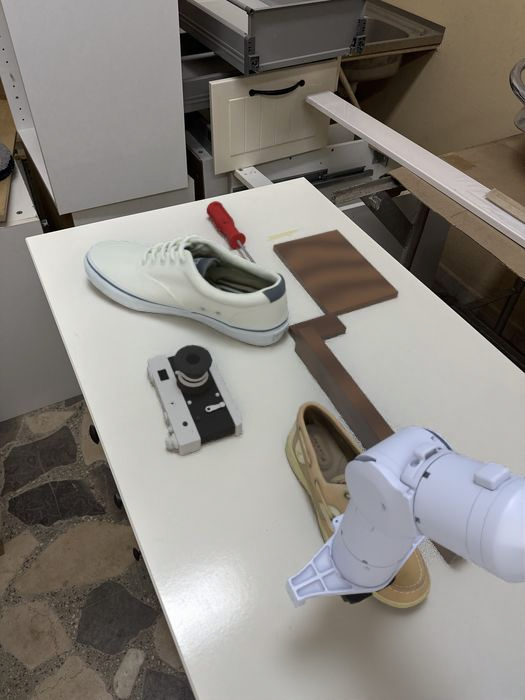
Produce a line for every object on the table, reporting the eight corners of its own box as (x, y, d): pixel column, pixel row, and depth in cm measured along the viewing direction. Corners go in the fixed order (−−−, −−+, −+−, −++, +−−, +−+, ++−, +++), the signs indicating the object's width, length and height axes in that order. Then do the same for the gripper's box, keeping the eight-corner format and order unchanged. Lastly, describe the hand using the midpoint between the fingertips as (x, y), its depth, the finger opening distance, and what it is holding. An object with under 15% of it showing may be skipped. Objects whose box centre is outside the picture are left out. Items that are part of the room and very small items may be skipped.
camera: (246, 403, 64) (166, 427, 61) (243, 435, 69) (170, 459, 66) (204, 321, 73) (133, 338, 70) (205, 354, 78) (139, 372, 75)
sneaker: (113, 251, 94) (102, 188, 85) (301, 306, 87) (311, 243, 78) (71, 294, 85) (54, 229, 76) (276, 358, 79) (284, 295, 70)
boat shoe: (380, 631, 54) (401, 606, 48) (261, 448, 68) (266, 411, 62) (443, 589, 57) (469, 560, 51) (317, 423, 71) (327, 386, 66)
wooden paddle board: (583, 488, 67) (602, 470, 64) (447, 564, 59) (461, 548, 56) (336, 234, 102) (339, 214, 99) (230, 260, 95) (230, 240, 91)
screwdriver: (259, 295, 89) (260, 278, 86) (205, 217, 103) (205, 201, 101) (277, 290, 90) (279, 274, 87) (221, 213, 105) (221, 198, 102)
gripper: (414, 462, 48) (380, 526, 58) (275, 525, 43) (263, 584, 53) (466, 529, 44) (419, 586, 54) (318, 608, 39) (297, 655, 49)
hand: (344, 589), depth 53 cm, fingers closed
